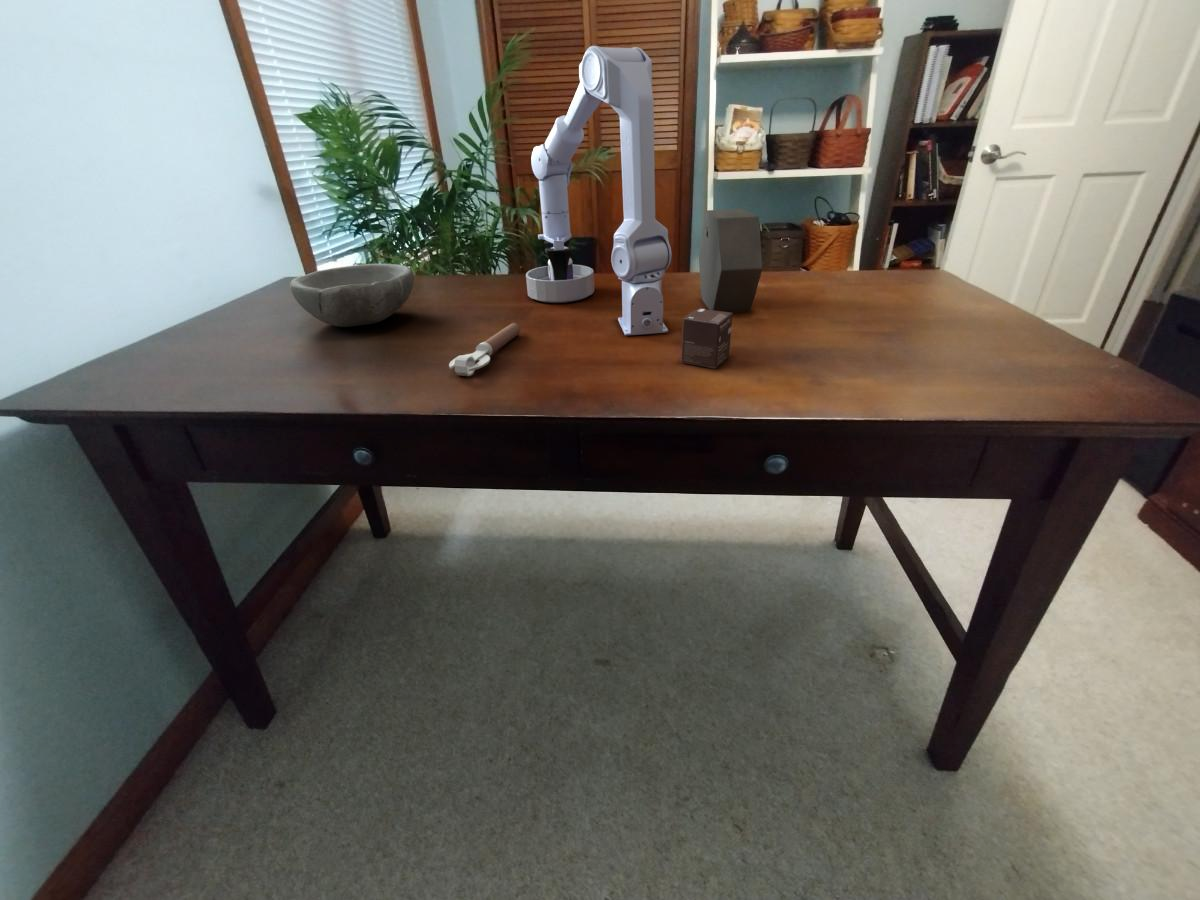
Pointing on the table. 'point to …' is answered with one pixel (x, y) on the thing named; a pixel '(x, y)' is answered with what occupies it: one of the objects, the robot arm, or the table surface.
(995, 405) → the table surface
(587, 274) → the round gray tray
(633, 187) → the robot arm
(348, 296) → the bowl
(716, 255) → the planter
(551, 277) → the pill bottle
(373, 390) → the table surface
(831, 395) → the table surface
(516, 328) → the manual can opener
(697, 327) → the box
